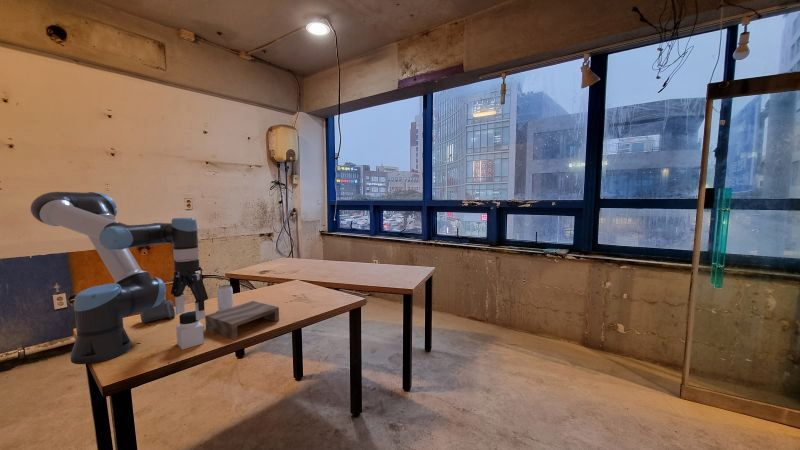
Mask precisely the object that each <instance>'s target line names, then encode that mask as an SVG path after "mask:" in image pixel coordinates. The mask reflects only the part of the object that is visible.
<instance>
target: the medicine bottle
mask: <svg viewBox="0 0 800 450" xmlns="http://www.w3.org/2000/svg"><path fill="white" fill-rule="evenodd" d="M175 328H176V343H177V345H178V346H179V348H180V349H181V350H182V351H183V350H186V349H190V348H192V347H196V346H200V345H203V344H205V336H204V334H205V332H204V331H205V330H204V328H205V327H204V325H203V324H202V323H201V322H200V320H196V310H189V311H185V312H184V313H180V314H179V324H178V325H176V327H175Z"/></svg>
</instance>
